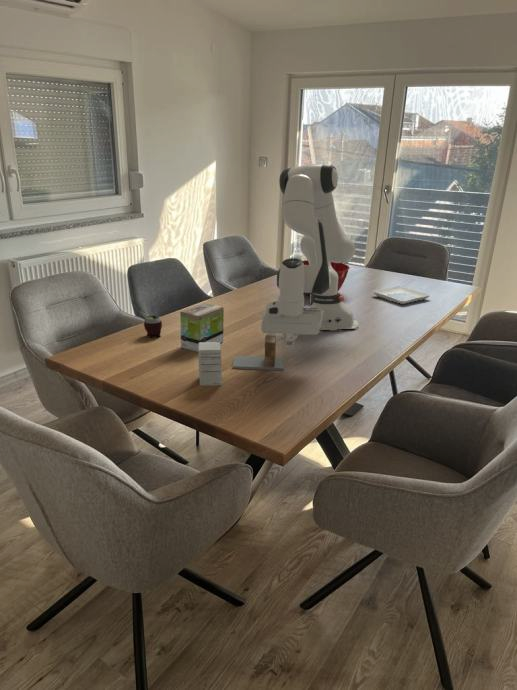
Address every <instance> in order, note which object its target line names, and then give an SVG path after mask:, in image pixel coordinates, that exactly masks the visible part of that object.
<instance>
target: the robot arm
mask: <svg viewBox="0 0 517 690" xmlns="http://www.w3.org/2000/svg"><path fill="white" fill-rule="evenodd" d="M278 179H279V180H278V181H279V189H280V191H281V193H282V194H283V195H284V196H283V202H282V218H283V221H284V223H285V225H286V226H287V227H288V228H289V229H290V230H292V231H293V232H295V233H297V234H301V235H302V238H301V240H300V244H299V248H300V251H301V253H302V254H303V255H304V257H305V258H306V260H308V262H309V265H304V263H303V261H304V260H301V259H298V258H295V257H294V258H292V257H291V258H287V259H283V261H281V265H280V268H279V269H278V270H277V272H276V287H277V288H278V289H279V295H278V300H274V301H271V302H267V303H266V305H265V307H264V310H265V311H264V313H263V316H262V319H261V329H260V331H261V332H262V333H263V334H266V333H276V334H282V338H283V339H284V341H285V346H294V344H295V341H296V339H297V338H298V335H311V336H314V335H315V336H316V335H318V334H319V333H320V331H322V330H330V331H338V330H337V329H355V330H357V329H358V328H359V322H358V320H356V319H355V318H354V313H353V310H352V309H351V308H350V307H349V306H348V305H346V304H345V303H344V302H343V301H344V296H343V295H342V294H341V292H339V291H338V274H337V272H336V271H335V270H334V269H333V268H332V266H331V263H330V262H334V263H343V264H346V263H348V262H351V260H352V259H353V258H354V256H355V255H356V245H355V241H354V240H352V239H351V238H349V236H348V235H347V234H346V233H345V232H344V230H343V228H342V226H341V225H340V223H339V221H338V218H337V212H336V207H335V200H334V197H333V196H334V195H333V192H334V190H336V188H337V186H338V181H339V176H338V171H337V167H335V165H334V164H332V163H327V162H326V163H324V162H323V163H309V164H306V165H299V166H296V167H289V168H286V169H284V170H282V171H281V173H280V175H279V178H278ZM337 291H338V292H337ZM304 293H305V294H306V293H310V296H309V304H310V306H309V307H305V295H304ZM357 327H358V328H357ZM356 328H357V329H356ZM289 334H290V335H292V336H293V337H292V338H291V339H290V338H288V337H287V336H288V335H289Z"/></svg>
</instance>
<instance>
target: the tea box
mask: <svg viewBox="0 0 517 690" xmlns="http://www.w3.org/2000/svg"><path fill="white" fill-rule="evenodd" d="M224 311H225V310H224V306H219V305H214V304H211V303H205V302H203V303H201V304H197V305H195V306H193V307H190V308H187V309H184V310H180V311H179V313H180V347H181V348H183V349H186V350H188V351H193V352H195V353H198V347H199V342H220V344H221V343H223V342H224V317H225V316H224V314H225V313H224Z"/></svg>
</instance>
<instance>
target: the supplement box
mask: <svg viewBox="0 0 517 690" xmlns="http://www.w3.org/2000/svg"><path fill="white" fill-rule="evenodd" d="M197 353H198V371H199V372H198V373H199V375H198V376H199V386H201V387H202V386H203V387H204V386H205V387H207V386H222V385H223V382H222V381H223V380H222V379H223V376H222V374H223V373H222V371H223V370H222V369H223V368H222V366H223V365H222V364H223V363H222V346H221V343H220V342H199V347H198V352H197Z"/></svg>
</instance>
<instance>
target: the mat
mask: <svg viewBox="0 0 517 690" xmlns="http://www.w3.org/2000/svg"><path fill="white" fill-rule="evenodd" d="M233 359H234V360H233V362H232V365H231V366H232V367H231V368H232V369H238V370H239V369H240V370H241V369H243V370H262V371H263V370H264V371H265V370H266V371H267V370H268V371H284V368H285V356H284V357H283V356H275V367H269V366H265V356H257V355H255V356H254V355H234V358H233Z"/></svg>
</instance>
